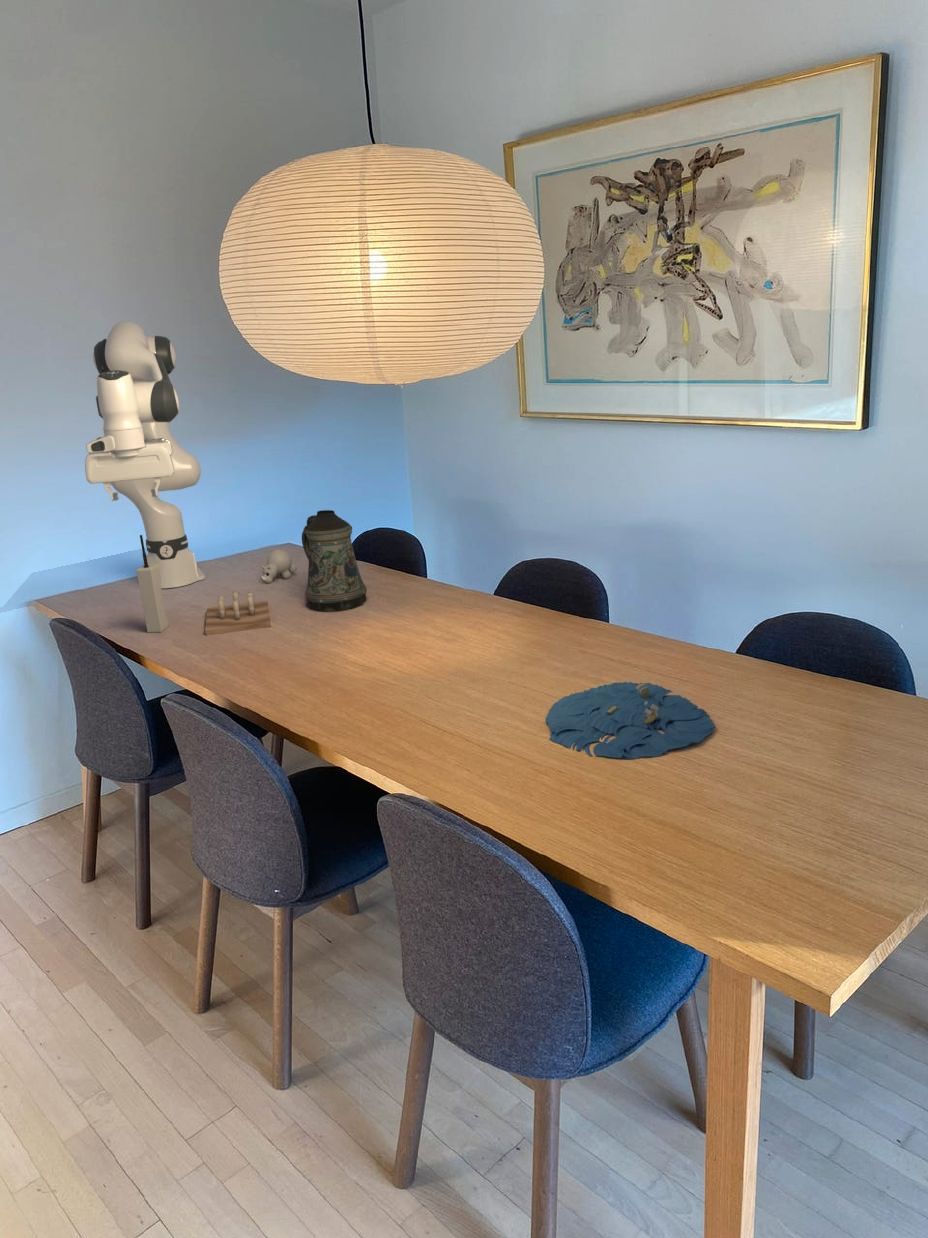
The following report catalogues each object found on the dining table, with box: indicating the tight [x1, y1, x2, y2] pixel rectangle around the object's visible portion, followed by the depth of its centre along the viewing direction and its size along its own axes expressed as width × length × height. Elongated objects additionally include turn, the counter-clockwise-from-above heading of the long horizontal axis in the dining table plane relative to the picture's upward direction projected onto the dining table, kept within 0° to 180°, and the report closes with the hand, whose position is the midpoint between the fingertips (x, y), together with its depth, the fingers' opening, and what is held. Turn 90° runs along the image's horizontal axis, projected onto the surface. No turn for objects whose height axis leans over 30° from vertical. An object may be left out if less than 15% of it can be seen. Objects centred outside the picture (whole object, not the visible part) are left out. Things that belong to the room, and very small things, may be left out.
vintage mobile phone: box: [136, 534, 170, 634], centre depth 225 cm, size 4×5×25 cm
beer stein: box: [301, 509, 368, 613], centre depth 238 cm, size 16×19×25 cm
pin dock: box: [204, 591, 272, 636], centre depth 232 cm, size 20×16×6 cm
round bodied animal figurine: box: [260, 549, 298, 585], centre depth 267 cm, size 7×12×8 cm, turn 145°
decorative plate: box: [545, 681, 716, 760], centre depth 160 cm, size 30×30×5 cm
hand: (135, 498), depth 218 cm, fingers open, 8 cm apart
